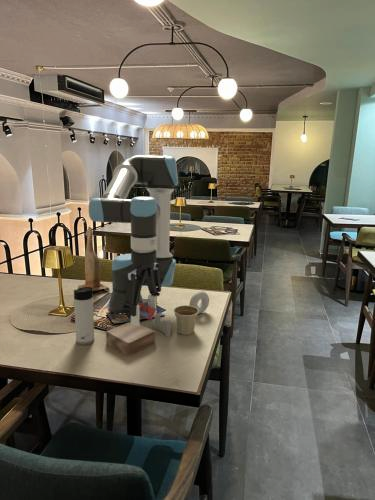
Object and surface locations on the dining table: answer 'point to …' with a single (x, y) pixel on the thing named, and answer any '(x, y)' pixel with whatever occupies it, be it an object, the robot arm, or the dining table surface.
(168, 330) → the grey tape dispenser
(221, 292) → the dining table surface
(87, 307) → the travel mug
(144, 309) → the geometric puzzle
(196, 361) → the dining table surface
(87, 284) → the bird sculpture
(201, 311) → the donut
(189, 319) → the flower pot
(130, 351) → the walnut block
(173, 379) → the dining table surface
